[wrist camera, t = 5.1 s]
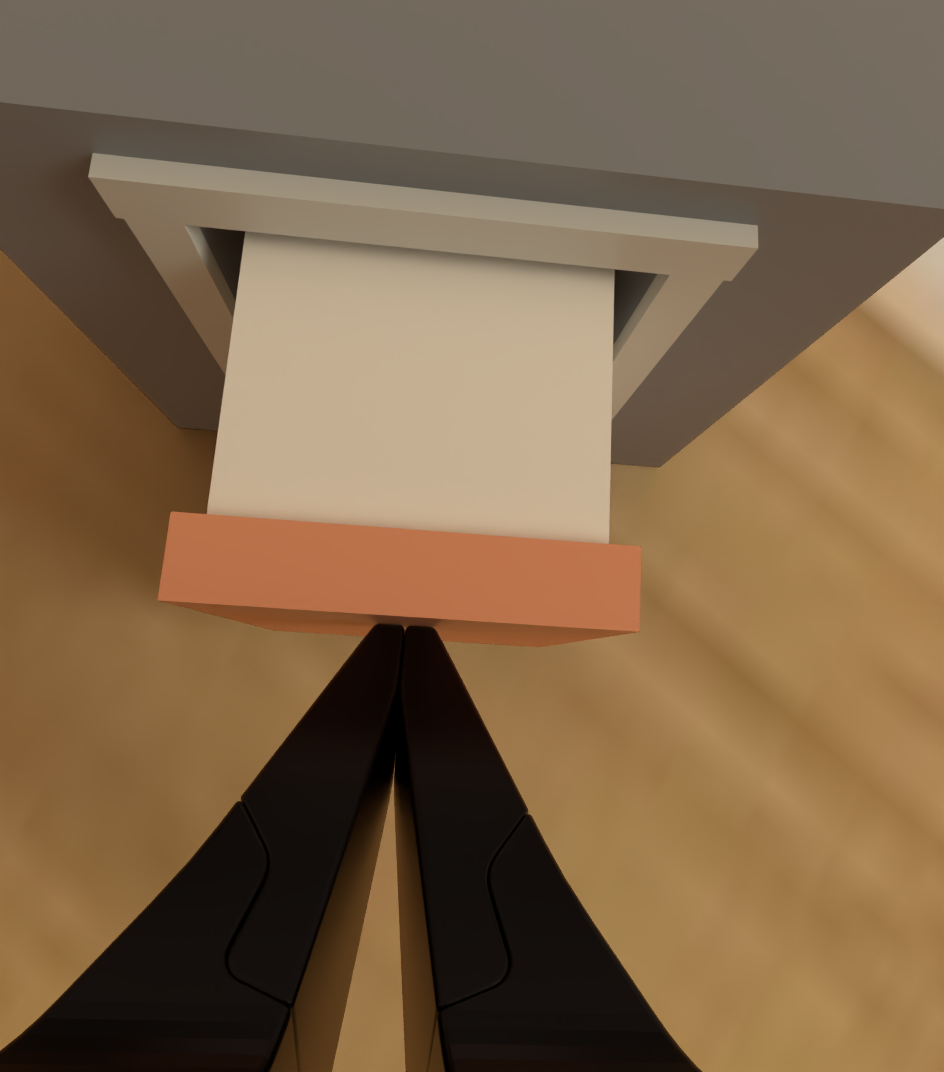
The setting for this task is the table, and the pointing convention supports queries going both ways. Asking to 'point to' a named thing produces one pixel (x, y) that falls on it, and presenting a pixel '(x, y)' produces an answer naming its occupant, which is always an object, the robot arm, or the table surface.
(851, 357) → the table surface
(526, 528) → the plunger
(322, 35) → the box
